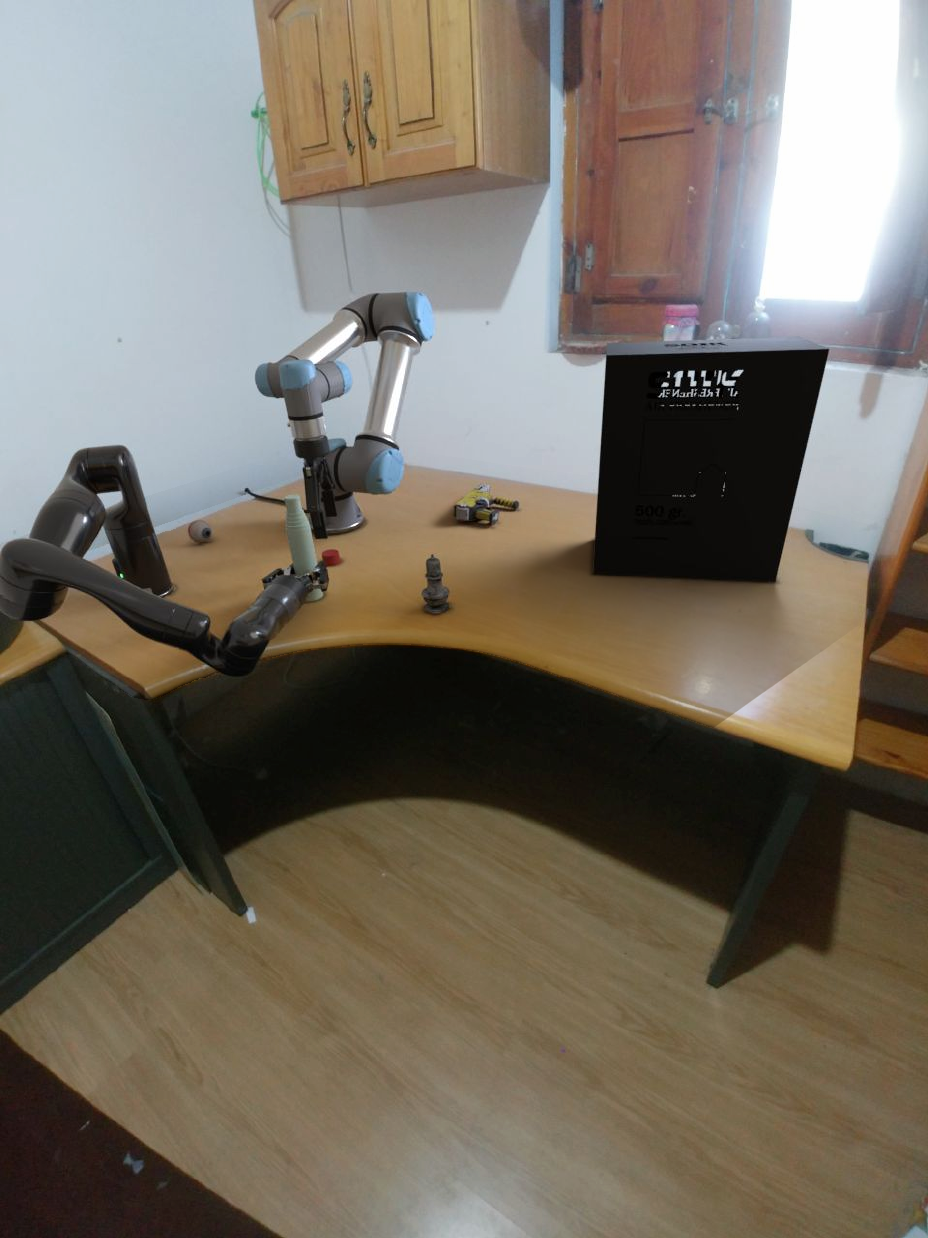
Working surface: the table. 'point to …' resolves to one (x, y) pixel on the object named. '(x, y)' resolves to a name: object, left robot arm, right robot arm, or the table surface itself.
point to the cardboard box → (703, 455)
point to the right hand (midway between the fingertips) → (327, 527)
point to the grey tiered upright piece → (435, 588)
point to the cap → (331, 557)
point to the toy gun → (480, 505)
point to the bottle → (300, 541)
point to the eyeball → (200, 531)
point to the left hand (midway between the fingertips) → (310, 564)
